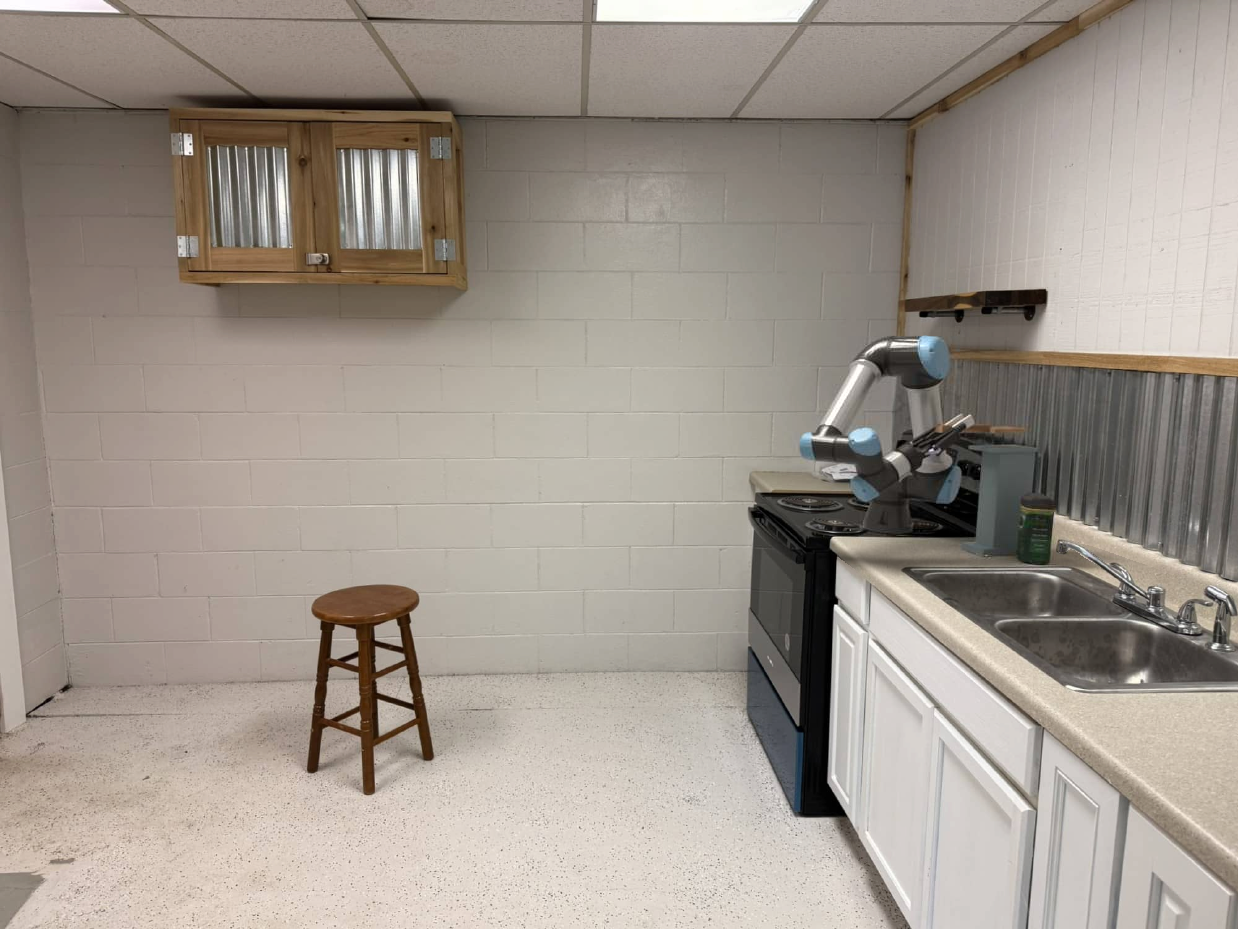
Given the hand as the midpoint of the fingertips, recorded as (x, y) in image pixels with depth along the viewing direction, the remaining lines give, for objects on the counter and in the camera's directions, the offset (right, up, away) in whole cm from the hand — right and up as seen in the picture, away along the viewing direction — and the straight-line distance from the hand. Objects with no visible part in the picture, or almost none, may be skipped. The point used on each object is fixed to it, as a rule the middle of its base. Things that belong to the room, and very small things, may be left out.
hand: (967, 418), depth 234 cm
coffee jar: (+17, -39, -2) cm, 43 cm away
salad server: (+4, -4, +2) cm, 6 cm away
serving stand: (+12, -37, +9) cm, 40 cm away
